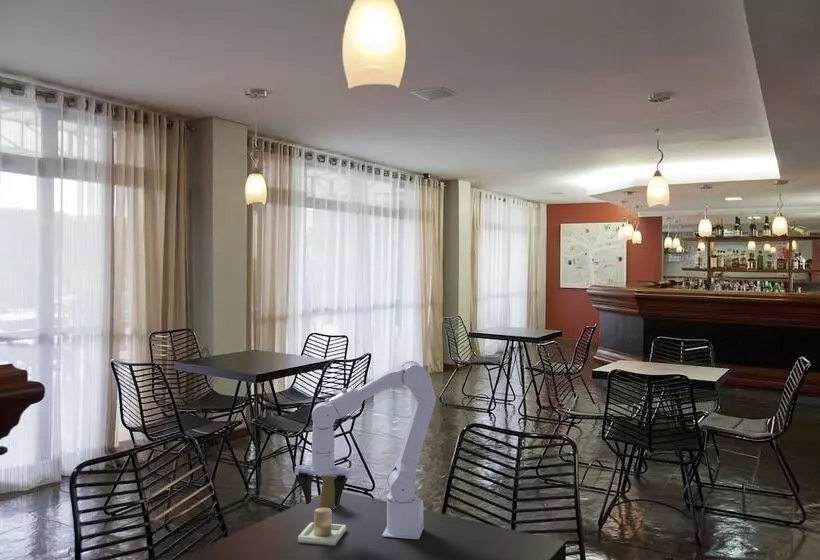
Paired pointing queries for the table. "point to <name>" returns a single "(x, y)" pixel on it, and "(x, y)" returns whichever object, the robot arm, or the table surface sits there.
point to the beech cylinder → (322, 522)
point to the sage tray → (309, 537)
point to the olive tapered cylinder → (328, 492)
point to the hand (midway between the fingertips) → (322, 503)
